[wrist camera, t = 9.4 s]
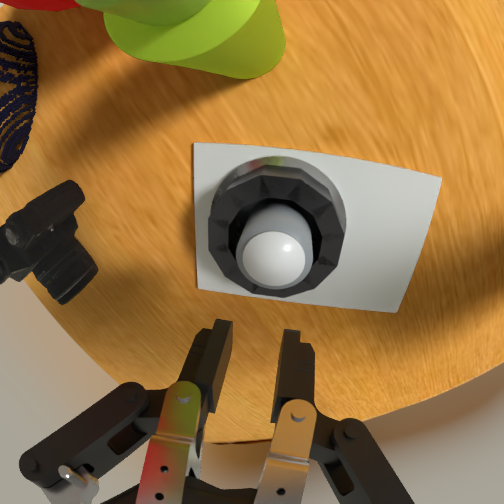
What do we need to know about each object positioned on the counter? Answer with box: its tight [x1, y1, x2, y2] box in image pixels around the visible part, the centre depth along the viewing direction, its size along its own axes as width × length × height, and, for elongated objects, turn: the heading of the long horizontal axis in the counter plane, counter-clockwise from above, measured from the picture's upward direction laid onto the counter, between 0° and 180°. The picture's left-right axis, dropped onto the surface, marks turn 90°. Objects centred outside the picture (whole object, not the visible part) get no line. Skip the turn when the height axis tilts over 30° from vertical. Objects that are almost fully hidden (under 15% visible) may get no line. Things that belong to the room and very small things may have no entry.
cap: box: [236, 198, 313, 289], centre depth 21 cm, size 5×5×5 cm
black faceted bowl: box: [208, 155, 346, 298], centre depth 22 cm, size 11×11×4 cm
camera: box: [0, 180, 98, 305], centre depth 25 cm, size 14×11×10 cm
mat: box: [194, 142, 442, 313], centre depth 24 cm, size 20×14×1 cm
